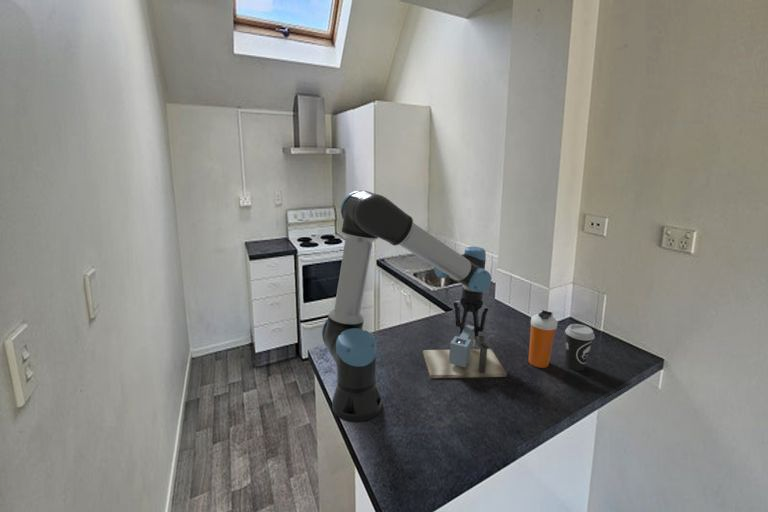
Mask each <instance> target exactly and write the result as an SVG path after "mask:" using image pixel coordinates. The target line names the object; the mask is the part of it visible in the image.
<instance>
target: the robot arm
mask: <svg viewBox="0 0 768 512" xmlns="http://www.w3.org/2000/svg"><path fill="white" fill-rule="evenodd" d="M340 214H341V215H340V216H341V217H342V220H343V221H342V227H341V234H342V235H343V236H344V238H345V240H344V245H343V250H342V251H343V252H342V256H341V257H342V259H341V265H340V269H339V278H338V283H337V290H336V296H335V302H334V308H333V309H332V310H331V311H329V313H328V318H327V319H326V320H325V321H324V323H323V325H322V328H321V329H322V330H321V336H322V340H323V343H324V345H325V346H326V348H327V349H328V351H329V353H330V355H331V356H332V358H333V360H334V362H335V363H336V371H337V372H336V374H337V375H336V377H337V379H336V380H337V385H336V388H335V390H334V394H333V397H332V402H331V403H332V405H331V406H332V411H333V413H334V415H335V416H336V417H337V418H339V419H340V420H342V421H345V422H349V423H363V422H366V421H370V420H372V419H373V418H375V417H376V416H377V415H378V414H379V413H380V412H381V410H382V404H383V403H382V395H381V393H380V390H379V387H378V384H377V352H378V350H377V349H378V348H377V342H376V338H375V337H374V335H373V334H372V333H370V332H369V331H368V330H363V327H364V320H365V318H364V316H363V314H362V313H361V311H362V305H363V301H364V300H363V299H364V293H365V289H366V284H367V283H366V281H367V276H368V273H369V272H368V270H369V265H370V260H371V253H372V247H373V243H374V242H375V241H376V240H378V239H381V240H383V241H384V242H388V244H390V245H392V246H396V247H397V246H401V247H402V248H404V249H405V250H407V251H409V252H410V253H412V254H413V255H415V256H417V257H418V258H420V259H421V260H423V261H425V262H426V263H428V264H430V265H431V266H432V267H433V270H434V273H435V275H436V277H437V278H439V279H447V278H450V279H451V280H453V281H455V282H457V283H459V284H461V285H462V289H461V298H460V300H455V301H454V303H453V306H454V311H455V313H454V315H455V317H454V318H455V326H456V327H457V328H459V336H460V335H461V333H462V332H463V330H464V329H465V327H466V322H467V318H468V314H469V312H470V313H472V317H473V326H474V330H473V332H472V344H471V347H472V348H474V347H475V345H476V340H475V336H479V332H481V333H482V332H483V331H484V329H485V326H486V321H487V320H486V319H487V314H488V311H489V309H490V306H486V305H485V304H484V302H483V293H484V292H485V291H486V290H488V289H489V287H490V285H491V282H492V275H491V273H490V272H489V271H488V270H486V268H485V267H486V262H487V260H486V256H487V255H486V252H487V251H486V250H485V248H482V247H479V246H468V247H465V249H464V252H463V254H460V253H459V252H457V251H456V250H454V249H453V248H452V247H450V246H448V245H447V244H446V243H445V242H442V241H441V240H440V239H438V238H436V237H435V236H434V235H432V234H430V233H429V232H427V231H426V230H424V228H421V226H419V225H417V224H416V223H414V219H413V217H412V216H410V215H409V214H407V213H406V212H405V211H404V210H402V208H400V207H399V206H397V205H396V204H395V203H393V202H392V201H391V200H390V199H388V197H386V196H384V195H382V194H377V193H374V192H371V191H367V190H354V191H352V192H350V193H349V194H348V195H346V196H345V197H344V199H343V200H342V202H341V205H340ZM461 306H462V308H463V312H462V313H463V314H462V317H461ZM480 309H481V311H482V312H481V313H482V314H481V319H480V320H479V310H480ZM479 321H480V322H479Z"/></svg>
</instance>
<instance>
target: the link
mask: <svg viewBox="0 0 768 512" xmlns="http://www.w3.org/2000/svg"><path fill="white" fill-rule="evenodd" d="M464 327H465V329H464V330H463V332H462V333H461V335H460V334H459V336H458V335H455V336H454V337H453V339H451V341H450V342H449V350H450V354H449V363H450V364H454V365H458V366H462V367H466V365H467V364H468V362H469V360H470V350H471V349H473V347H471V344H472V332H473V330H474V325H469V324H467V325H465V326H464ZM458 341H463V342H464V343H463V344H459V343H458Z"/></svg>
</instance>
